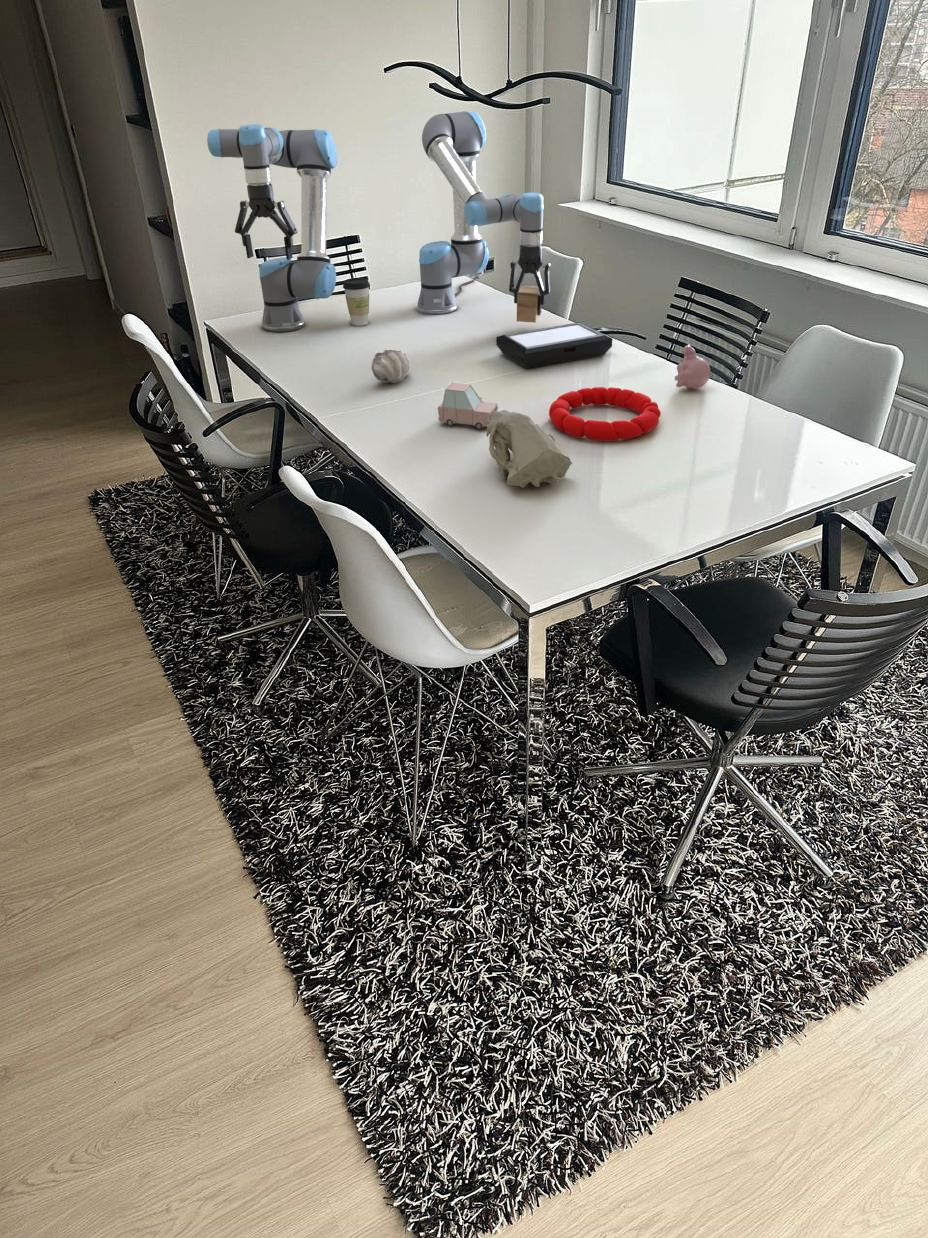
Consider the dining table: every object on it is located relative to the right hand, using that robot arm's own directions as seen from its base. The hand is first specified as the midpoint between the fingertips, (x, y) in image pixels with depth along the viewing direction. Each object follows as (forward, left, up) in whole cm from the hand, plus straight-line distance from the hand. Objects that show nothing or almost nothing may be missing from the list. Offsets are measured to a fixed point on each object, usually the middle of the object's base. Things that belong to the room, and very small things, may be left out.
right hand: (529, 313), depth 313 cm
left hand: (+39, -77, +26) cm, 90 cm away
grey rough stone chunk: (+116, +13, -6) cm, 117 cm away
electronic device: (+27, +12, -6) cm, 30 cm away
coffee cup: (-1, -63, -6) cm, 63 cm away
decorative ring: (+82, +32, -6) cm, 89 cm away
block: (0, 0, -2) cm, 2 cm away
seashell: (+59, -34, -6) cm, 68 cm away
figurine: (+54, +55, -6) cm, 77 cm away
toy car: (+88, -5, -6) cm, 88 cm away
